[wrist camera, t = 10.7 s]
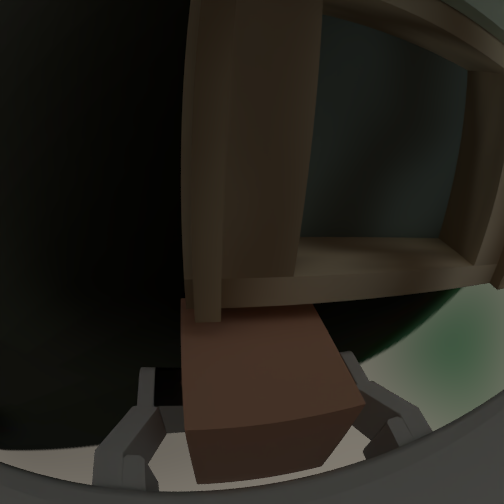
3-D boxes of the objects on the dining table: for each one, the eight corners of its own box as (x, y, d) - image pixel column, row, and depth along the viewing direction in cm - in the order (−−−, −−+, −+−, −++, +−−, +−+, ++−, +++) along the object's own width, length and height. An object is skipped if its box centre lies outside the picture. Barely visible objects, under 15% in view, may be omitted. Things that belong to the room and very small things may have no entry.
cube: (187, 379, 12) (197, 484, 8) (180, 298, 10) (185, 430, 6) (287, 371, 13) (321, 466, 9) (306, 293, 11) (366, 403, 7)
